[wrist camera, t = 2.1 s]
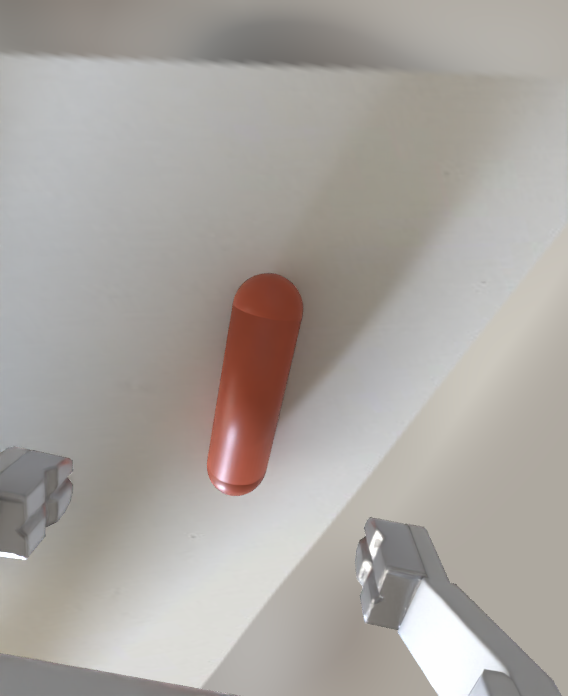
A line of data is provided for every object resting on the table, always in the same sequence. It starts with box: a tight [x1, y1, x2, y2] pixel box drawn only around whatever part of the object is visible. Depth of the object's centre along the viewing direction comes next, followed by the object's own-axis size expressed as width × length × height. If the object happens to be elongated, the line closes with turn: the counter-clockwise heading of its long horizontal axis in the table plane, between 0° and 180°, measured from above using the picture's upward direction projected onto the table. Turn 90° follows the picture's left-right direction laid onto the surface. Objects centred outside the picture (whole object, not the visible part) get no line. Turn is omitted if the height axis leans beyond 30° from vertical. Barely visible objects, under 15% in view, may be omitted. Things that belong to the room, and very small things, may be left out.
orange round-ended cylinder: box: [207, 273, 303, 496], centre depth 15 cm, size 10×3×3 cm, turn 168°
